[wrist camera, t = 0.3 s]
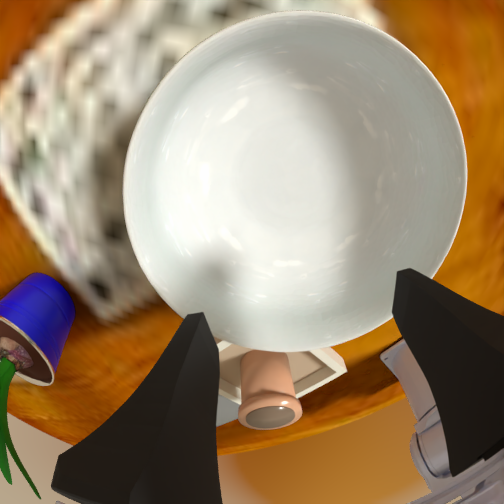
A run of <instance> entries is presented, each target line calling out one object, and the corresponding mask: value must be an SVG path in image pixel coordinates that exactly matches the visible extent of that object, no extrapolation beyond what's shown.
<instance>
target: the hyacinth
mask: <svg viewBox="0 0 504 504" xmlns="http://www.w3.org/2000/svg"><path fill="white" fill-rule="evenodd" d="M74 318H75V307H74V304H73V301H72V299H71V297H70V296H69V294H68V293H67V291H66V290H65V289H64V288H63V287H62V285H60V284H59V283H58V282H57V281H56V280H54V279H53V278H52V277H50V276H48V275H45V274H42V273H33V274H31V275H29V276H28V277H27V278H26V279H24V280H23V281H22V282H21V283H20V284H19V285H18V286H16V287H15V288H14V289H13V290H12V291H10V292H9V293H8V294H7V295H6V296H5V297H4V298H3V299H2V300H1V301H0V361H1V362H0V468H1V471H2V473H3V475H4V477H5V478H6V480H7V482H8V483H9V484H11V485H12V479H11V474H10V469H9V463H8V458H7V452H6V445H7V447H8V449H9V451H10V454H11V456H12V457H13V459H14V461H15V462H16V464H17V466H18V467H19V469H20V471H21V472H22V474H23V475H24V477H25V478H26V480H27V481H28V483H29V484H30V486H31V488H32V489H33V491H34V492H35V494H36V495H37V496H38V498H39V499H41V497H40V495H39V493H38V491H37V489H36V487H35V485H34V484H33V482H32V480H31V478H30V477H29V475H28V473H27V471H26V470H25V468H24V466H23V465H22V463H21V461H20V459H19V457H18V455H17V453H16V451H15V448H14V446H13V443H12V440H11V437H10V433H9V428H8V422H7V397H8V390H9V385H10V382H11V380H12V378H13V376H14V374H16V375H18V376H19V377H21V378H23V379H24V380H26V381H29V382H31V383H33V384H36V385H40V386H48V385H51V384H52V383H53V382H54V379H55V372H56V369H57V366H58V362H59V359H60V356H61V353H62V351H63V348H64V345H65V342H66V339H67V336H68V334H69V331H70V328H71V326H72V323H73V321H74ZM5 443H6V444H5Z"/></svg>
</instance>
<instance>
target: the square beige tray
mask: <svg viewBox="0 0 504 504" xmlns="http://www.w3.org/2000/svg"><path fill="white" fill-rule="evenodd" d="M214 339H215V342H216V344H217V346H218V349H219V362H220V380H219V394H220V395H222V396H224V397H225V398H227V399H229V400H231V401H233V402H236V403H238V404H240V405H241V380H240V361H241V359H242V357H243V356H244V355H245V354H246V353H248V352H250V351H252V350H254V349H251V348H246V347H242V346H238V345H235V344H231V343H228V342H226V341H223V340H220V339H218V338H216V337H214ZM285 353H286V354H287V356H288V359H289V364H290V369H291V374H292V380H293V385H294V390H295V395H296V398H299V397H301V396H303V395H305V394H307V393H309V392H311V391H313V390H315V389H316V388H318V387H320V386H322V385H324V384H326V383H328V382H329V381H331V380H333V379H335V378H337V377H338V376H340V375H342V374H344V373H345V372H347V369H346V366H345V363H344V361H343V358H342V357H341V356H340V355H338V354H337V353H336V352H335V351H334V350H333V349H332V348H331V347H326V348H321V349H316V350H311V351H302V352H285Z"/></svg>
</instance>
